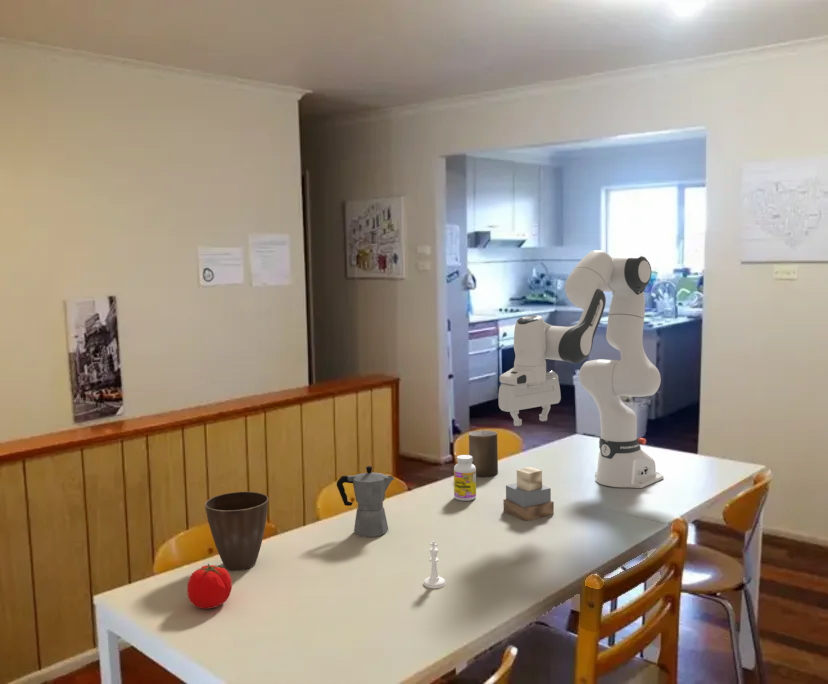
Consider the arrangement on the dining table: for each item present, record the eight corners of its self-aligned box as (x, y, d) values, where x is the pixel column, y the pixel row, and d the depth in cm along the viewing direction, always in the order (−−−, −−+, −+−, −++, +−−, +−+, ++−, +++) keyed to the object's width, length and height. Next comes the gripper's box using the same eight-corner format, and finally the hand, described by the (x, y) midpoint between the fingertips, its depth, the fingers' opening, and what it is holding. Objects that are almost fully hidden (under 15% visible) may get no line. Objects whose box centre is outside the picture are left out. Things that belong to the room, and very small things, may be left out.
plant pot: (204, 559, 192) (200, 496, 190) (263, 548, 198) (260, 487, 196) (213, 581, 178) (210, 514, 177) (277, 569, 184) (274, 504, 182)
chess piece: (438, 590, 171) (437, 546, 170) (419, 585, 174) (418, 542, 172) (449, 581, 175) (448, 539, 174) (430, 577, 178) (429, 535, 177)
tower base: (530, 506, 227) (530, 492, 227) (553, 515, 219) (553, 501, 218) (503, 512, 222) (503, 499, 221) (526, 522, 213) (526, 508, 213)
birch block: (529, 483, 222) (529, 466, 222) (542, 487, 218) (541, 470, 218) (516, 487, 219) (516, 469, 219) (529, 491, 215) (528, 473, 215)
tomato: (191, 618, 160) (188, 579, 160) (184, 598, 170) (182, 562, 169) (236, 609, 164) (234, 571, 163) (227, 590, 174) (225, 554, 173)
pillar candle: (499, 476, 256) (498, 432, 254) (469, 477, 256) (469, 432, 255) (496, 469, 266) (496, 426, 264) (468, 469, 266) (467, 426, 264)
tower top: (531, 493, 226) (531, 480, 225) (550, 502, 218) (550, 488, 217) (506, 498, 222) (505, 485, 221) (524, 507, 214) (524, 493, 213)
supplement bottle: (451, 500, 233) (450, 458, 231) (458, 493, 239) (457, 453, 237) (472, 502, 230) (471, 460, 229) (479, 495, 236) (478, 454, 235)
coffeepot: (395, 524, 213) (393, 460, 211) (396, 536, 204) (393, 470, 202) (339, 526, 213) (337, 462, 211) (337, 539, 203) (334, 472, 201)
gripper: (550, 369, 224) (550, 416, 225) (494, 376, 213) (495, 426, 214) (565, 371, 218) (565, 419, 220) (509, 379, 207) (510, 430, 209)
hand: (530, 423), depth 217 cm, fingers open, 8 cm apart
